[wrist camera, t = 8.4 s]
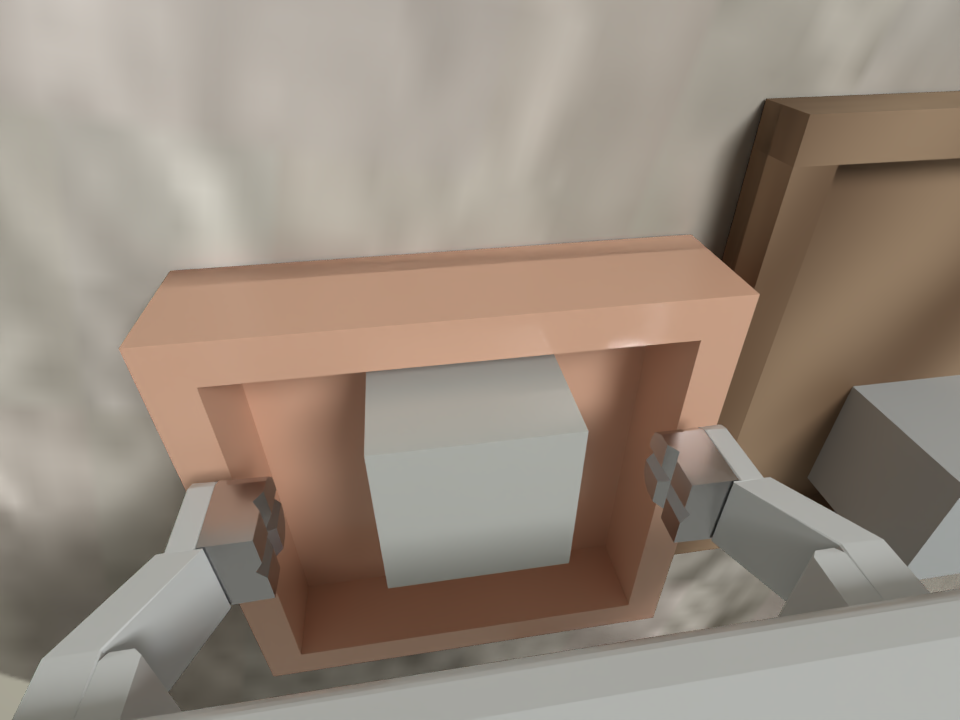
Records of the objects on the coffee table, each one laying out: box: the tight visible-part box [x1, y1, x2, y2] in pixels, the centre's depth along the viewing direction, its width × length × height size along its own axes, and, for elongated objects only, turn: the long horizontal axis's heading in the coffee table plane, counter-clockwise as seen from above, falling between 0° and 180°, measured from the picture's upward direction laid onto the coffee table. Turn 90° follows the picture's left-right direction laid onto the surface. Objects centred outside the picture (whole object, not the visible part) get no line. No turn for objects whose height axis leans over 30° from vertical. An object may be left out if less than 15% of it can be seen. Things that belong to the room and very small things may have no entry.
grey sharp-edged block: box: [808, 375, 960, 579], centre depth 16 cm, size 4×4×4 cm
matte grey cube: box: [364, 354, 589, 588], centre depth 13 cm, size 4×4×4 cm
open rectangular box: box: [119, 235, 760, 676], centre depth 15 cm, size 12×12×3 cm
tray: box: [674, 91, 960, 555], centre depth 16 cm, size 14×14×2 cm
